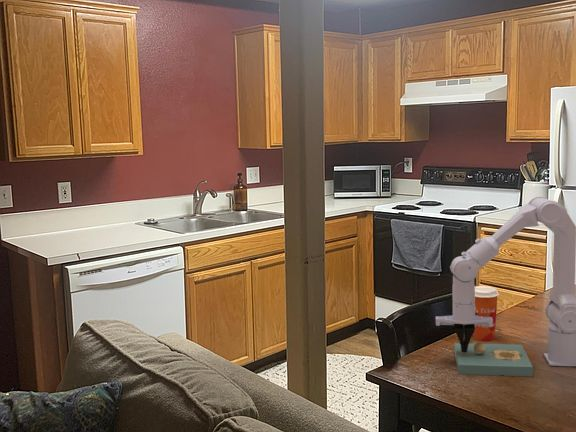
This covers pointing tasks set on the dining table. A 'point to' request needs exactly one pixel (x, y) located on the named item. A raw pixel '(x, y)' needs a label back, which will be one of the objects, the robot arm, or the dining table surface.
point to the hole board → (494, 360)
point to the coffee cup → (485, 311)
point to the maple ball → (479, 348)
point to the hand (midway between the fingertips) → (464, 351)
